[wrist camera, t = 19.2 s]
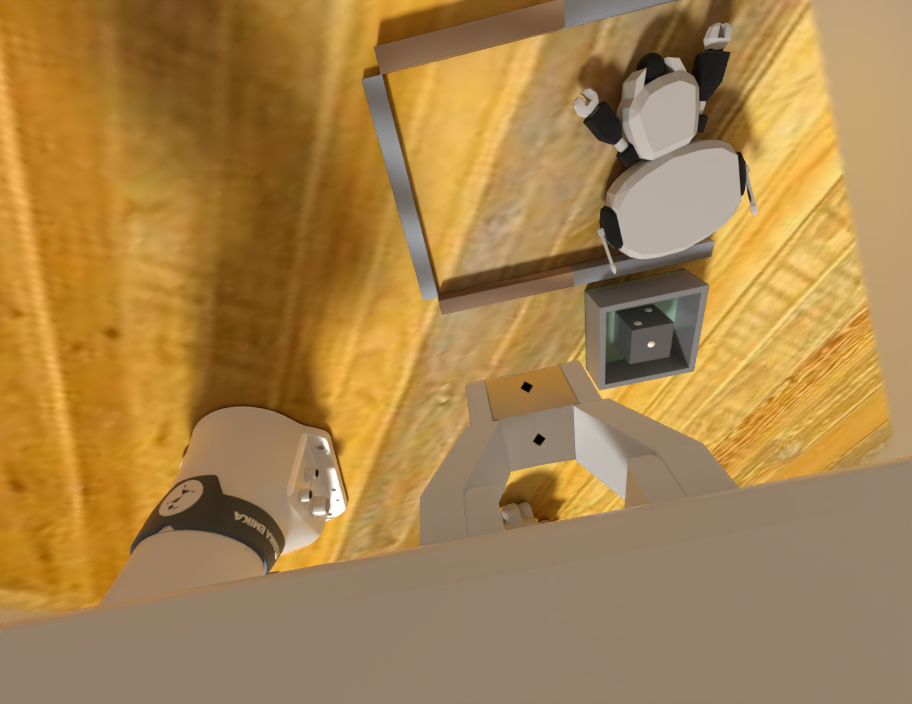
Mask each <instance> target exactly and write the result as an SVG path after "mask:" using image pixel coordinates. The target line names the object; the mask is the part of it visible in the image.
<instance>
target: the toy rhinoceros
mask: <svg viewBox="0 0 912 704" xmlns="http://www.w3.org/2000/svg"><path fill="white" fill-rule="evenodd" d="M501 513H502V519H503V524H504V528H505V531H506V530H512V529H517V528H522V527H528V526H533V525H539V524H544V523H550V521H549V520H541V521H540V522H538V521H536V520H535V519H534V517H533V512H532V508H531V506H530V504H529V503H528V502H522V503H520V504H518V505H517V504H516V503H511V504H508V505H506V506H505V507H503V508H502V510H501Z"/></svg>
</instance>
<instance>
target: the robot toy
mask: <svg viewBox="0 0 912 704" xmlns="http://www.w3.org/2000/svg"><path fill="white" fill-rule="evenodd" d="M720 25H721V27H720ZM719 29H720V31H719ZM731 33H732V26H731V25H730V24H729V23H724V24H721V23H714V24H713V25H711V26H710V27H709V28H708V30H707V32H706V35H705V37H704V39H703V43H704V50H705V52H704V53H700V54H698V55H696V58H695V62H694V66H693V70H692V74H689V73H688V72H687V71H686V69H685V67H684V65H683V64H682V62H681V60H680V58H672V57H667V58H664V59H662V57H661V56H660V55H659V54H658V53H649V54H647V55H645V56H644V57H643V58H642V59H641V60H640V61H639V63H638V65H637V69H636V71H635V72H632V73H631V74H630V76H629V77H628V78H627V79H626V80H625V82H624V83H623V88H622V96H621V102H620V104H619V106H618V108H617V115H616V114H615V113H614V112H613V110H612V109H611V108H610V107H609V105H608V104H607V103H606V102H605V101H603V102H601V103H599V99H598V94H597V92H596V91H594V90H593V89H592V88H585V89H584V90H583V91H582V92H581V93H580V94H582V95H583V96H584V97H585V99H586V100H587V101H588V102H587V103H586V104H584V103H583V101H582V100H581V99H580V97H577V98H576V99H575V101H574V109H575V111H576V113H577V115H578V116H582V117H585V120H584V121H583V122H584V124H585V125H586V126H587V127H588V128H589V130H590V131H591V132H592V133H593V134H594V136H595V137H596V138H597V139H598V140H599V141H602V142H605V143H608V144H612V145H614V146H615V147H616V149H617V150H618V151H619V152H618V153H617V156H616V157H617V158H618V159H619V160H620V161H621V163H622V164H623V165H624V166H625V167H629V166H631V165H632V164H633V163H634V162H636V160H637V159H641V160H640V161H638V162H637V163H635V164H634V165H632V166H631V167H630V168H628V169H627V170H626V171H625V172H623V173H622V174H621V175H620V176H619V177H618V178H617V179H616V180H615V181H614V183H613V184H612V185H611V187H610V188H609V190H608V191H607V195H606V202H605V206H604V207H603V208H602V209H601V212H600V221H599V223H600V227H601V228H600V229H598V230H597V231H598V234H599V237H601V239H602V242H603V245H604V247H605V250H606V253H607V256H608V259H609V262H610V265H611V266H610V267H611V270H612V272H613V273H614V274H616V268H615V265H614V264H613V261H612V258H611V255H610V252H609V249H608V246H607V243H608V244H609V245H610V246H611V247H613V248H615V249H619V250H620V251H621V252H623V253H624V254H626V255H627V256H629V257H633V258H638V259H650V258H657V257H662V256H665V255H669V254H673V253H676V252H680V251H684V250H685V249H687V248H689V247H691V246H693V245H694V244H696V243H698V242H700V241H701V240H703V239H705V238H707V237H708V236H710V235H711V234H712V233H714V232H715V231H717V230H718V229H720V228H721V227H722V226H723V225H724V224H725V223H726V222H727V221H728V220H729V219H730V218H731V217H732V215H733V214H734V213H735V212H736V210H737V208H738V206H739V204H740V202H741V196H742V195H743V194H744V191H745V184H746V188H747V192H748V197H749V201H750V205H751V207H750V209H751V213H753V214H754V215H755V216H756V214H757V212H758V209H757V205H755V200H754V196H753V192H752V188H751V184H750V180H749V176H748V172H750V170H749V166H748V164H747V165H746V163H745V160H744V159H743V156H742V154H741V152H735V150H734V149H733V147H732V146H731V144H730V143H727V142H724V141H720V140H693V141H691V140H692V138H693V137H694V136H695V134H696V133H701V132H704V128H705V125H706V121H707V118H708V117H707V116H706V115H705V114H703V111H704V108H705V104H706V101H707V100H708V99H709V98H710V96H711V95H712V94H713V93H714V91H715V90H716V89H717V87H718V86H719V85H720V83H721V82H722V80H723V76H724V73H725V69H726V66H727V62H728V59H729V56H730V52H726V51H723V49H724V48H725V47H726V45H727V44H728V42H729V41H730V39H731ZM606 242H607V243H606Z"/></svg>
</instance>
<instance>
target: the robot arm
mask: <svg viewBox="0 0 912 704" xmlns="http://www.w3.org/2000/svg"><path fill="white" fill-rule="evenodd" d="M484 380H485V382H484ZM484 380H480V381H475V382H470V383H466V384H465V389H466V396H467V403H468V410H469V417H470V424H471V426H467V427H465V428H464V430H463V431H462V433H461V434H460V436H459V438H458V439H457V441H456V442H455V444H454V445H453V447H452V448H451V450H450V451H449V453H448V455H447V456H446V458H445V459H444V461H443V462H442V464H441V465H440V467H439V468H438V470H437V472H436V473H435V475H434V476H433V478H432V479H431V481H430V482H429V484H428V485H427V487H426V489H425V490H424V492H423V493H422V495H421V496H420V543H419V547H414V548H409V549H403V550H398V551H392V552H387V553H381V554H376V555H371V556H365V557H360V558H354V559H349V560H343V561H338V562H333V563H327V564H322V565H316V566H311V567H306V568H300V569H295V570H289V571H284V572H279V571H276V572H271V573H269V571H270V570H271V568H272V567H273V565H274V564H275V562H276V561H277V559H278V558H279V556H281V555H283V554H286V553H289V552H292V551H295V550H297V549H300V548H303V547H305V546H307V545H309V544H311V543H313V542H314V541H315V540H316V539H317V538H318V537H319V536H320V535H321V533H322V531H323V528H324V525H325V521H328V520H330V519H333V518H335V517H337V516H339V515H340V514H342V513H343V512H344V511H345V510H346V508H347V505H348V502H347V498H346V494H345V490H344V486H343V482H342V478H341V475H340V471H339V467H338V463H337V459H336V455H335V452H334V448H333V444H332V440H331V436H330V435H329V433H328V432H326V431H324V430H322V429H318V428H314V427H309V426H304V425H302V424H299V423H297V422H295V421H294V420H292V419H290V418H288V417H286V416H284V415H282V414H279V413H276V412H274V411H270V410H267V409H262V408H256V407H245V406H241V407H229V408H224V409H220V410H217V411H214V412H212V413H210V414H208V415H206V416H205V417H203V418H202V419H201V420H200V421H199V422H198V423H197V425H196V426H195V428H194V430H193V433H192V437H191V440H190V444H189V447H188V449H187V452H186V454H185V456H184V457H183V459H182V461H181V463H180V466H179V467H180V468H179V470H178V473H177V475H176V477H175V479H174V481H173V483H172V485H171V487H170V489H169V491H168V493H167V494H166V496H165V497H164V498H163V499H162V500H161V502H160V503H159V504H158V505H157V506H156V507H155V509H154V510H153V512H152V513H151V515H150V516H149V518H148V519H147V521H146V522H145V524H144V525H143V527H142V529H141V530H140V531H139V533H138V534H137V536H136V539H135V540H134V542H133V544H132V546H131V549H130V555H131V556H130V557H129V559H128V560H127V562H126V564H125V565H124V567H123V568H122V570H121V571H120V573H119V574H118V576H117V577H116V579H115V581H114V582H113V584H112V585H111V587H110V588H109V590H108V591H107V593H106V595H105V596H104V598H103V599H102V601H101V602H100V604H99V605H98V606H95V607H89V608H84V609H78V610H73V611H68V612H62V613H57V614H51V615H45V616H39V617H33V618H26V619H20V620H15V621H11V622H7V623H3V624H0V704H912V456H908V457H903V458H897V459H892V460H886V461H881V462H875V463H870V464H864V465H859V466H854V467H848V468H843V469H837V470H832V471H826V472H821V473H815V474H810V475H805V476H799V477H794V478H788V479H783V480H777V481H772V482H766V483H761V484H756V485H750V486H745V487H738V486H737V485H736V483H735V482H734V481H733V480H732V479H731V477H730V476H729V475H728V474H727V472H726V471H725V470H724V469H723V468H722V466H721V465H720V464H719V463H718V461H717V460H716V459H715V458H714V456H713V455H712V454H711V453H710V452H709V450H708V449H707V448H706V447H705V445H704V444H703V443H701V442H699V441H697V440H695V439H693V438H690V437H688V436H686V435H684V434H682V433H680V432H678V431H676V430H674V429H672V428H669V427H667V426H665V425H663V424H661V423H659V422H657V421H655V420H653V419H651V418H648V417H646V416H644V415H642V414H640V413H638V412H636V411H634V410H632V409H630V408H627V407H625V406H623V405H621V404H619V403H617V402H615V401H613V400H611V399H609V398H608V399H602V398H601V396H600V395H599V393H598V391H597V390H596V388H595V386H594V385H593V383H592V381H591V380H590V378H589V377H588V375H587V373H586V372H585V370H584V368H583V367H582V365H581V363H580V362H579V361H577V360H576V361H571V362H567V363H563V364H559V365H557V366H552V367H547V368H543V369H538V370H533V371H528V372H524V373H517V374H512V375H506V376H501V377H495V378H490V379H484ZM485 385H486V386H485ZM486 390H487V391H486ZM574 459H576V461H577V462H578V463H579V464H581V465H582V466H583V467H584V468H586V469H587V470H588V471H589V472H590V473H592V474H593V475H594V476H595V477H597V478H598V479H599V480H600V481H602V482H603V483H604V484H605V485H607V486H608V487H609V488H610V489H612V490H613V491H614V492H615V493H617V494H618V495H619V496H620V497H622V498H623V499H624V500H625V508H624V509H620V510H615V511H609V512H604V513H598V514H593V515H588V516H582V517H577V518H571V519H566V520H560V521H555V522H550V523H544V524H539V525H533V526H528V527H522V528H517V529H512V530H506V531H505V528H504V524H503V519H502V515H501V511H500V506H499V501H500V499H501V496H502V494H503V491H504V488H505V486H506V483H507V481H508V478H509V475H510V472H511V471H516V470H521V469H525V468H530V467H534V466H539V465H544V464H550V463H556V462H562V461H568V460H574Z"/></svg>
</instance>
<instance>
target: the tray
mask: <svg viewBox="0 0 912 704" xmlns="http://www.w3.org/2000/svg"><path fill="white" fill-rule="evenodd" d="M708 288H709V285H708V284H707V283H705V282H704V281H702V280H701V279H699V278H698V277H696V276H694V275H693V274H691V273H690V272H688V271H687V270H685V269H682V270H677V271H672V272H668V273H663V274H658V275H654V276H649V277H645V278H640V279H635V280H631V281H626V282H621V283H617V284H612V285H607V286H603V287H598V288H594V289H589V290H585V338H586V369H587V371H588V372H589V374H590V376H591V377H592V379H593V381H594V382H595V384H596V386H597V387H598V389H599V390H603V389H608V388H613V387H618V386H623V385H628V384H633V383H638V382H643V381H648V380H653V379H658V378H663V377H668V376H672V375H677V374H682V373H687V372H692V371H694V368H695V362H696V357H697V351H698V345H699V340H700V334H701V328H702V323H703V317H704V311H705V306H706V300H707V294H708ZM650 304H654V305H655V306H656V307H657V308H659V309H660V310H661V311H662V312H663V313H664V314H665V315H666V316H668V317H669V318H670V319H671V320H672V321H673V322H674V329H673V336H672V342H671V349H670V355H669V357H666V358H660V359H655V360H650V361H644V362H639V363H634V364H629V363H628V362H627V361H626V359H625V358H624V357H623V355H622V354H621V353H620V352H619V350H618V349H617V348H616V346H615V345H614V344H613V336H614V316H615V311H620V310H625V309H630V308H635V307H640V306H645V305H650Z"/></svg>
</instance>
